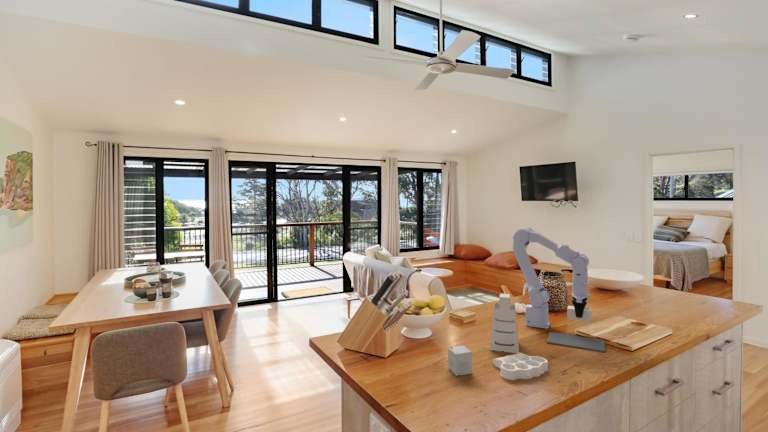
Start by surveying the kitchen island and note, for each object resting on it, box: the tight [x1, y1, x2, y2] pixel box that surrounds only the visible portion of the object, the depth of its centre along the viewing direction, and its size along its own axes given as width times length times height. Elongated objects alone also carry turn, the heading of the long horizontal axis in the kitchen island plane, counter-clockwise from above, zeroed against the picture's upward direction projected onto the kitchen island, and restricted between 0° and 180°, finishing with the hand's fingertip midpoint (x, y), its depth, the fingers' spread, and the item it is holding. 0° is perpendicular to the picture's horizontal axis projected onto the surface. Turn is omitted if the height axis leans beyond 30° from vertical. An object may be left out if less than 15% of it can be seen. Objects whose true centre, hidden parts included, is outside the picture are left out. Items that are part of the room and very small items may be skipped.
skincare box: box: [447, 345, 473, 377], centre depth 128 cm, size 6×6×7 cm
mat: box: [546, 331, 606, 353], centre depth 152 cm, size 20×12×1 cm, turn 61°
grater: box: [489, 293, 520, 354], centre depth 148 cm, size 10×10×20 cm
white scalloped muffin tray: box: [492, 352, 549, 381], centre depth 128 cm, size 3×18×15 cm
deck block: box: [566, 305, 592, 323], centre depth 161 cm, size 9×5×4 cm, turn 61°
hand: (579, 315), depth 161 cm, fingers closed on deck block, 5 cm apart
